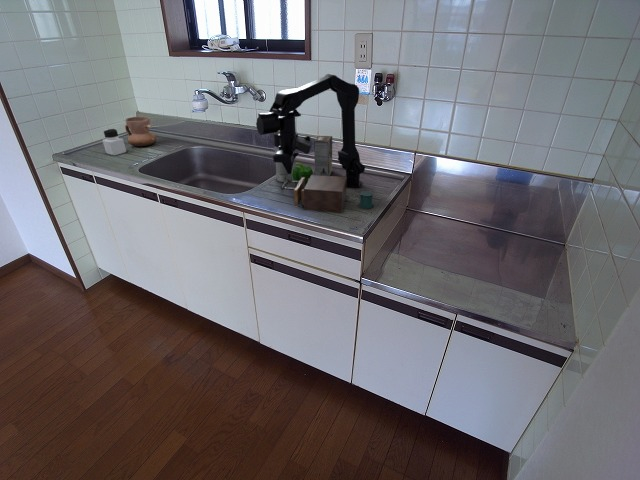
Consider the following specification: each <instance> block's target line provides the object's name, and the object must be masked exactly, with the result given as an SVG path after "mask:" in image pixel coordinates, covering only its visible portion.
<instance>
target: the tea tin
mask: <svg viewBox="0 0 640 480" xmlns="http://www.w3.org/2000/svg"><path fill="white" fill-rule="evenodd" d="M359 194H360V196H359V207H360V208H361V209H366V210H367V209H371V208H373V204H374V203H373V200H374V192H373V191H370V190H362V191H360V193H359Z"/></svg>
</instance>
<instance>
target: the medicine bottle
mask: <svg viewBox="0 0 640 480" xmlns="http://www.w3.org/2000/svg"><path fill="white" fill-rule="evenodd" d="M103 135H104V139H102V140H101V141H102V144H103V147H104V150H105V153H106V154H107V155H110V156H119V155H121V154H125V153H127V149H126V145H125V142H124V138H121V137H119V133H118V130H117V129H115V128H108V129H104V130H103Z"/></svg>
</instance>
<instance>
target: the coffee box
mask: <svg viewBox="0 0 640 480" xmlns="http://www.w3.org/2000/svg"><path fill="white" fill-rule="evenodd" d="M313 149H314V151H313V152H314V153H313V155H314V156H313V158H314V175H320V176H331V174H332V172H333V135H318V136H317V137H316V138H315V140H314V142H313Z"/></svg>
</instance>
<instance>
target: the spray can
mask: <svg viewBox="0 0 640 480" xmlns="http://www.w3.org/2000/svg"><path fill="white" fill-rule="evenodd" d="M278 134H279V131H278V132H277V133H273V142H274V144H273V145H274V155H275V154H276V153H277V152H278V151H282V150H279V146H280V138H278ZM275 172H276V175H275V176H276V181H277V182H280V183H285V181H286V180H287V179H288V180H290V181H293V177H292V172H293V171H292V172H291V174H288V173H287V171H286V169H285V167H284V166H283V164H282V163H280V162H275Z"/></svg>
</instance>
